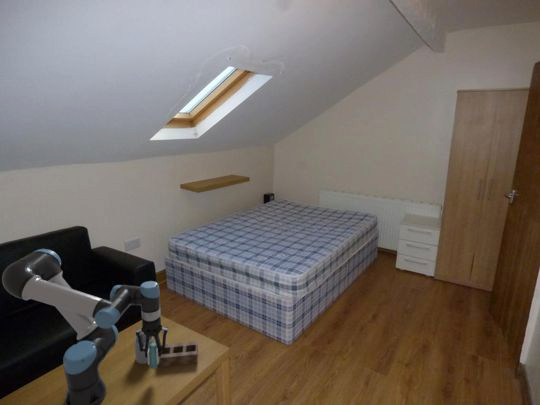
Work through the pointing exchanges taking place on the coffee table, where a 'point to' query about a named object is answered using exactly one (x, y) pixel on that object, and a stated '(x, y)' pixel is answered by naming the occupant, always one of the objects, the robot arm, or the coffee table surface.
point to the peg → (153, 355)
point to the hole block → (179, 354)
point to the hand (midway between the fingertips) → (153, 362)
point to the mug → (141, 355)
